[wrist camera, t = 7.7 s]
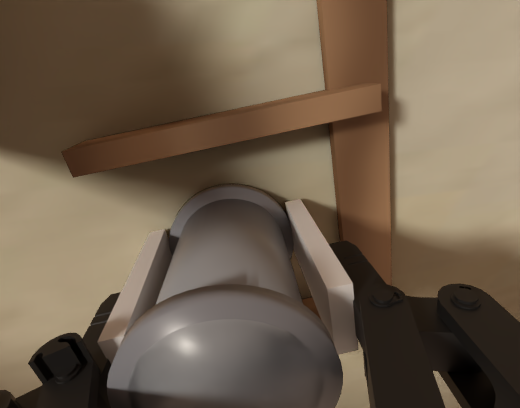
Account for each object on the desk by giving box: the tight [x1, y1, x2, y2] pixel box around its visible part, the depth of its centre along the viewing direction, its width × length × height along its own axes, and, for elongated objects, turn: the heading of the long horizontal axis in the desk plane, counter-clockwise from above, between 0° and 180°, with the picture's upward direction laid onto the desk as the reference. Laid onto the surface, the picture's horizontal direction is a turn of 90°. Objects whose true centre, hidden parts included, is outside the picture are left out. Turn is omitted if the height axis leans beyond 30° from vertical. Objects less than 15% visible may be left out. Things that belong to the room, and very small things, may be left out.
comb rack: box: [61, 0, 392, 321], centre depth 12 cm, size 13×24×2 cm, turn 11°
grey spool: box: [107, 184, 343, 408], centre depth 11 cm, size 6×6×8 cm
